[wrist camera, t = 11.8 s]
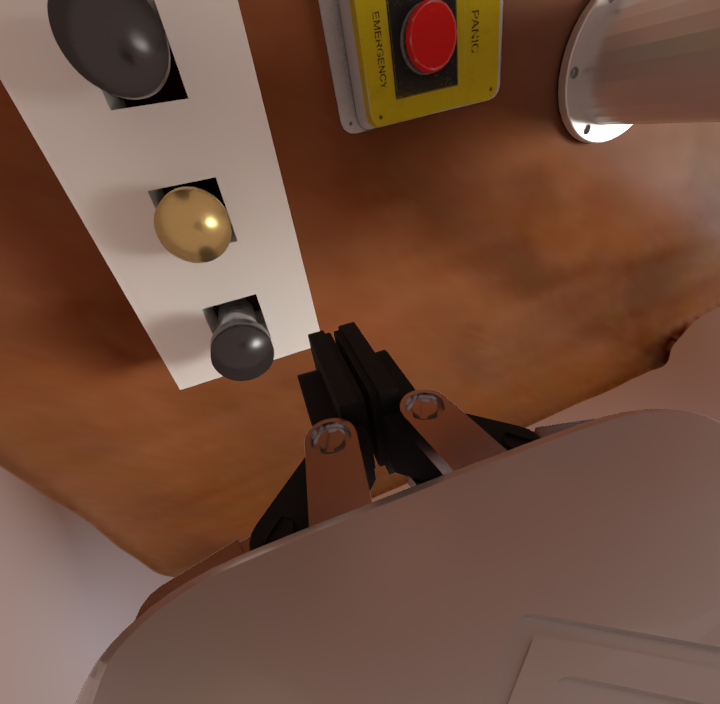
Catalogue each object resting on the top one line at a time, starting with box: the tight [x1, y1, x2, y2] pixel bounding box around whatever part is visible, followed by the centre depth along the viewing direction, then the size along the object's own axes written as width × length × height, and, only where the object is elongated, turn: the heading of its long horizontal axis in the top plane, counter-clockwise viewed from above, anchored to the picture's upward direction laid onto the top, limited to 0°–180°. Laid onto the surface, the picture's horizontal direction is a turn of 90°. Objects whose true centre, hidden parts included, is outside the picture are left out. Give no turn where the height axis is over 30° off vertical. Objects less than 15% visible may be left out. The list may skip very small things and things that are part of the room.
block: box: [0, 0, 320, 390], centre depth 25 cm, size 12×24×6 cm, turn 9°
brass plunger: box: [154, 187, 232, 263], centre depth 23 cm, size 4×4×7 cm
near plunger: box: [47, 0, 171, 100], centre depth 17 cm, size 4×4×7 cm
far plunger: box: [210, 298, 274, 381], centre depth 26 cm, size 4×4×7 cm
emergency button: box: [318, 0, 503, 133], centre depth 26 cm, size 9×4×15 cm
